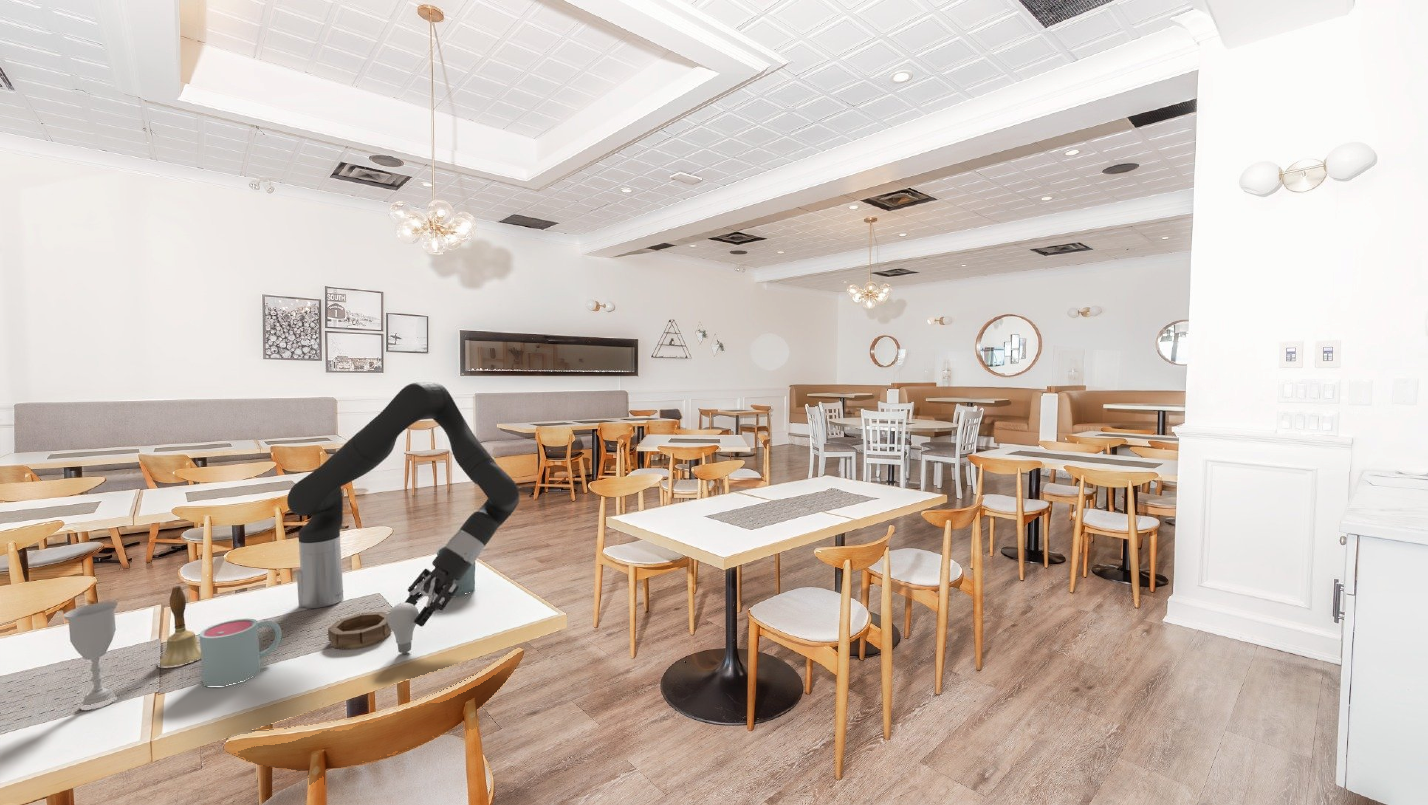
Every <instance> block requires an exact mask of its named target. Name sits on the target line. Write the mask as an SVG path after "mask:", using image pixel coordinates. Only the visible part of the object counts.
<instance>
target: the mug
mask: <svg viewBox="0 0 1428 805" xmlns="http://www.w3.org/2000/svg"><path fill="white" fill-rule="evenodd" d="M262 628H271V629H272V630H273V631H274V640H273V642H272V643H271V645H270V646H269V647H268V648H266V649H265V650H262V651H261V650H260V640H259V629H262ZM282 634H283V633H282V629H281V627H280V625H279V624H278V623H277V622H275V621H272V620H262V621H260V622H258V620H257V619H254V618H238V619H232V620H226V621H221V622H220V623H216V624H212V625H211V626H208V627H206V628H204V629H203V630H202V631H200V633H199V643H200V644H199V645H200V648H201V660H200V661H201V675H202V685H203V684H204V685H205V686H226V685H229V684H233V683H238V682H240V681H244V680H246V679H248V678H251V677H252V676H254V675H256V674H257V673H258V672H259V671H260V672H261V659H260V658H264V657H267V656H268V655H270V654H272V653H273V652H274V651H275V650H276V649H277V647H278V646H279V645H280V643H281V639H282ZM260 672H259V673H260ZM259 673H258V674H259ZM258 674H257V675H258ZM257 675H256V676H257ZM254 677H255V676H254ZM252 678H253V677H252ZM252 678H251V679H252ZM246 681H247V680H246ZM244 682H245V681H244ZM238 684H239V683H238ZM204 685H203V686H204ZM205 686H204V687H205Z"/></svg>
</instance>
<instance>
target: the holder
mask: <svg viewBox="0 0 1428 805" xmlns="http://www.w3.org/2000/svg"><path fill="white" fill-rule="evenodd" d="M388 614H389V613H387V612H385V611H373V612H371V611H370V612H362V613H357V614H354V615H351V616H350V615H349V616H347V617H344V618H340V619H339V620H337V621H335V622H334V623H333V624H332V625H330V626H329V627H328V628H327V631H328V632H327V636H328V641H329V642H330V646H331V647H332V648H334V649H336V650H341V651H343V650H355V649H361V648H366V647H370V646H373V645H375V644H378V643H380V642H382V641H384V640H386V639H387V638H388V637H390V635H391V633H392V630H391V629H390V627H389V625H388V623H387V617H388Z"/></svg>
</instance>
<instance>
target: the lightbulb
mask: <svg viewBox="0 0 1428 805" xmlns="http://www.w3.org/2000/svg"><path fill="white" fill-rule="evenodd" d="M419 613H420V612H419V609H418V608H417V607H416V605H415V606H414V605H413V604H410V603H404V602H400V603H398V604H396V605H394V606H393V607H392V608H391V609H390V610H389V611H388V613H387V614H388V617H387V623H388V625H389V627H390V629H391V632H392V633H393V634H394V636H395V640H396V641H395V642H396V644H397V650H398V653H400V654H403V655H404V654H405V655H406V654H408V652H410V651H411V650H412V640H413V635H414V630H415V628H416V626H417V624H416V623H414V620H415V619H416V617H417V616H418V615H419Z"/></svg>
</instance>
